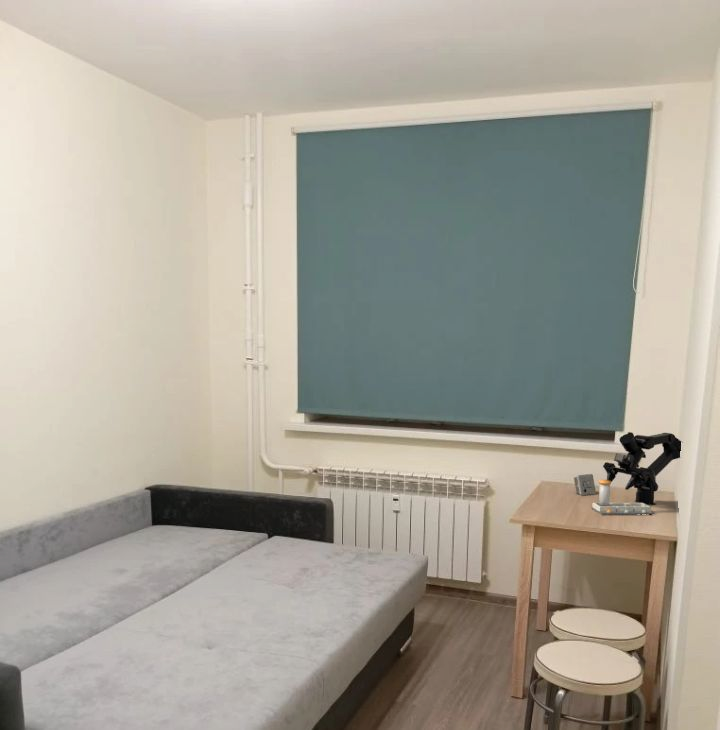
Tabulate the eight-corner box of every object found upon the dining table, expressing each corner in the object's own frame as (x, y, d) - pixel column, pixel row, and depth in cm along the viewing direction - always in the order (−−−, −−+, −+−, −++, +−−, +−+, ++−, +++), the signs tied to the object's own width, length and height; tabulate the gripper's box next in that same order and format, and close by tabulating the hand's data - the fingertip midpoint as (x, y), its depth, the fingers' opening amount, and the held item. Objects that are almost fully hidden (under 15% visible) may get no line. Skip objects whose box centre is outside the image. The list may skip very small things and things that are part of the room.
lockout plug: (604, 507, 279) (604, 479, 279) (612, 510, 275) (613, 481, 275) (595, 508, 277) (596, 480, 277) (604, 511, 273) (604, 482, 273)
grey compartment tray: (641, 508, 282) (641, 502, 281) (654, 515, 272) (654, 508, 272) (591, 509, 280) (591, 502, 280) (602, 515, 270) (602, 508, 270)
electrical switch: (581, 496, 304) (580, 475, 304) (573, 494, 309) (572, 474, 309) (596, 494, 308) (595, 474, 309) (588, 493, 313) (587, 473, 313)
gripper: (606, 443, 290) (589, 471, 284) (645, 450, 275) (628, 479, 269) (616, 460, 295) (600, 487, 289) (655, 467, 279) (639, 496, 274)
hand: (616, 487), depth 280 cm, fingers open, 9 cm apart
